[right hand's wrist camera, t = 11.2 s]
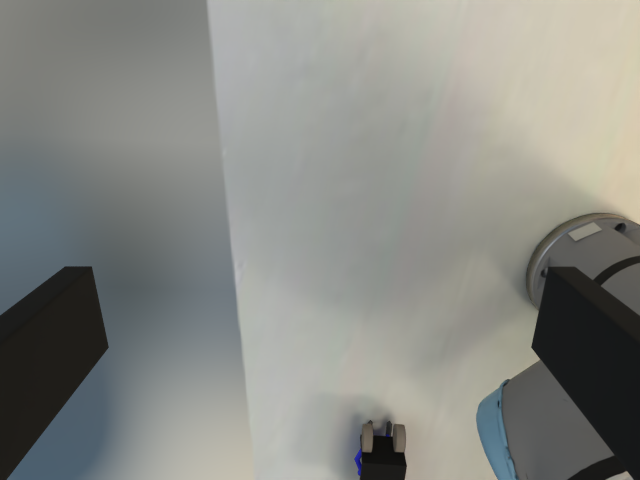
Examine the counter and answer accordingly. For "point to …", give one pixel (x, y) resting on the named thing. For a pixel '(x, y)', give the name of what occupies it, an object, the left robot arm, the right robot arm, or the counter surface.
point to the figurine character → (382, 454)
